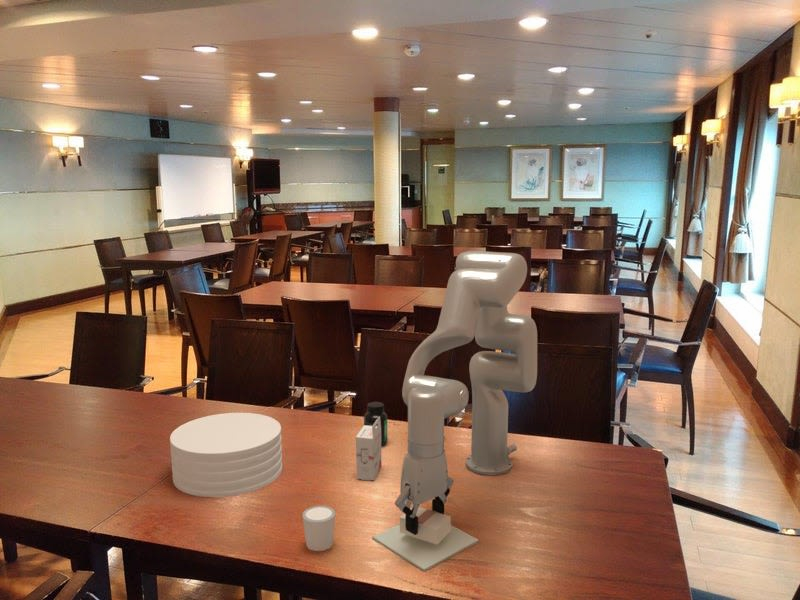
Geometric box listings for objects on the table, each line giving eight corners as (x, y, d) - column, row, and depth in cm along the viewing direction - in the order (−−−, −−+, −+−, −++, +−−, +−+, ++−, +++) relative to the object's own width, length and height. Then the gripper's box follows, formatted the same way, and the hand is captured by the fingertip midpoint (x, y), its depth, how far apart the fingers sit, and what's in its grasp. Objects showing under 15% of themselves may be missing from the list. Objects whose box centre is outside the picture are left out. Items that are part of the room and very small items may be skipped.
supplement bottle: (392, 444, 187) (391, 405, 185) (372, 450, 183) (371, 410, 181) (379, 437, 193) (379, 399, 190) (359, 442, 189) (359, 403, 187)
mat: (425, 513, 148) (425, 511, 148) (478, 541, 136) (478, 539, 136) (372, 538, 137) (372, 536, 137) (424, 571, 126) (424, 569, 125)
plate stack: (303, 471, 170) (302, 430, 168) (209, 509, 150) (206, 463, 148) (244, 442, 189) (242, 405, 187) (153, 473, 169) (150, 432, 167)
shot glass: (304, 535, 138) (303, 505, 137) (336, 534, 139) (335, 504, 138) (302, 553, 132) (301, 522, 131) (335, 552, 132) (334, 520, 131)
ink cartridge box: (364, 465, 173) (363, 413, 170) (381, 467, 172) (381, 415, 169) (355, 479, 165) (354, 425, 162) (374, 481, 164) (373, 427, 161)
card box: (450, 531, 136) (450, 515, 136) (437, 544, 131) (437, 528, 131) (414, 520, 141) (414, 504, 140) (399, 532, 136) (399, 516, 135)
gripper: (442, 431, 141) (441, 505, 144) (382, 452, 130) (382, 533, 133) (467, 441, 136) (465, 518, 139) (407, 464, 124) (406, 548, 128)
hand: (425, 525), depth 136 cm, fingers closed on card box, 7 cm apart
